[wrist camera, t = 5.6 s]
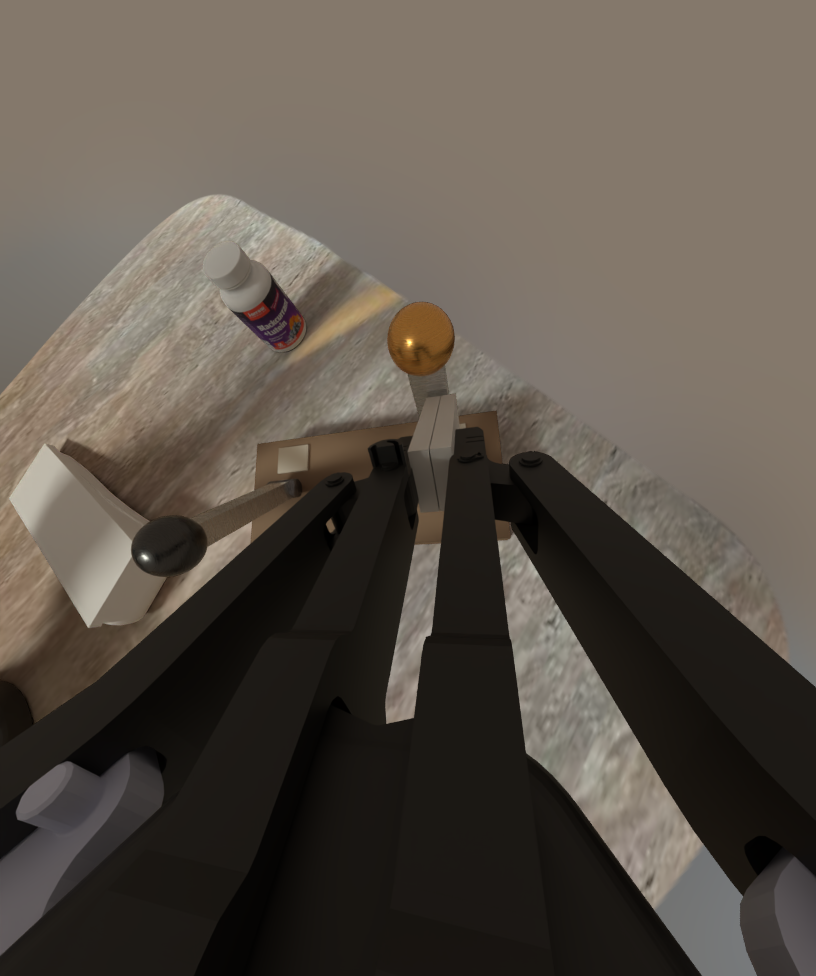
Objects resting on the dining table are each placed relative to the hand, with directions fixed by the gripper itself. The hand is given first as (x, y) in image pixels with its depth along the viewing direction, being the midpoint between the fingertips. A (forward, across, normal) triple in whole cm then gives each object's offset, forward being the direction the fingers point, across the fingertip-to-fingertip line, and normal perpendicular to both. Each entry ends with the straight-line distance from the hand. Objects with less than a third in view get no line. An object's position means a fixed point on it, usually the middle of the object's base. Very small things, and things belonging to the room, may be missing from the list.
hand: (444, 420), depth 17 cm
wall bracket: (+7, -44, -10) cm, 45 cm away
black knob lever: (+4, -15, -6) cm, 16 cm away
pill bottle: (+22, -19, +5) cm, 30 cm away
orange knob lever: (+4, -1, -6) cm, 7 cm away
